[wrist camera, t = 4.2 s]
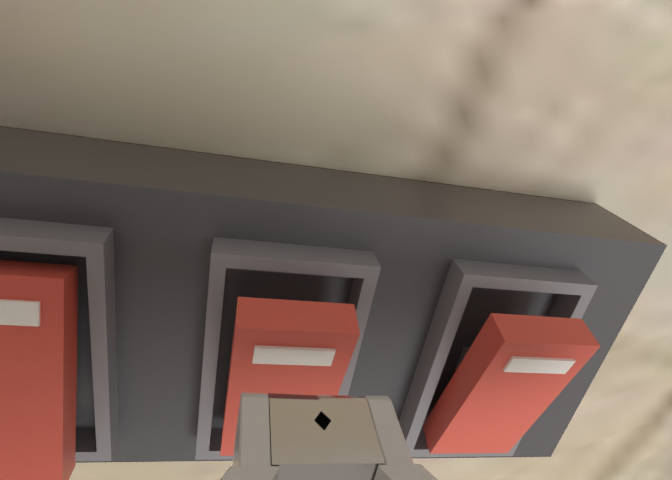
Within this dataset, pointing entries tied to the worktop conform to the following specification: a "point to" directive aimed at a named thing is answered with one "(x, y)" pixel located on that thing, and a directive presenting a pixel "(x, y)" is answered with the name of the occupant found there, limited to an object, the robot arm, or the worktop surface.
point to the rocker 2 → (286, 352)
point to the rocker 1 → (38, 370)
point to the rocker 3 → (507, 382)
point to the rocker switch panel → (294, 279)
